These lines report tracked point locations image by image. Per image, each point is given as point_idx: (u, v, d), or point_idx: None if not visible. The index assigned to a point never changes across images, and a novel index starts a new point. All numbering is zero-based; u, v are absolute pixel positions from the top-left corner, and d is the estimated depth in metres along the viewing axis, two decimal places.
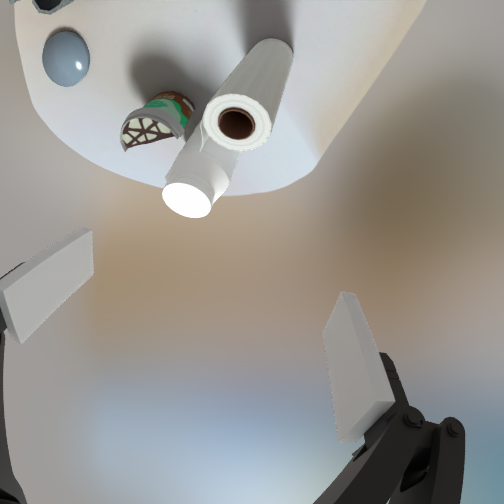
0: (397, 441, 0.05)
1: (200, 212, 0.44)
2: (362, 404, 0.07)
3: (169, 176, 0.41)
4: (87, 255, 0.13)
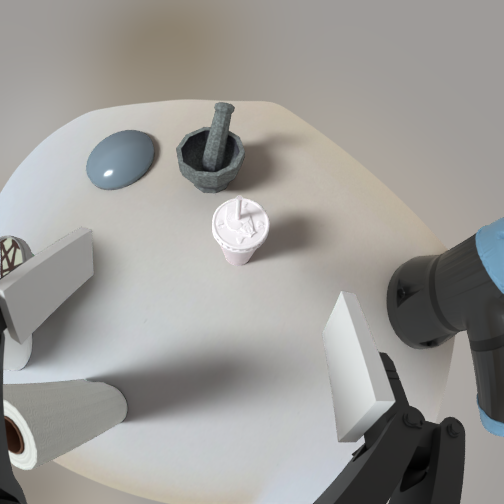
0: (397, 441, 0.05)
1: None
2: (362, 404, 0.07)
3: None
4: (87, 255, 0.13)
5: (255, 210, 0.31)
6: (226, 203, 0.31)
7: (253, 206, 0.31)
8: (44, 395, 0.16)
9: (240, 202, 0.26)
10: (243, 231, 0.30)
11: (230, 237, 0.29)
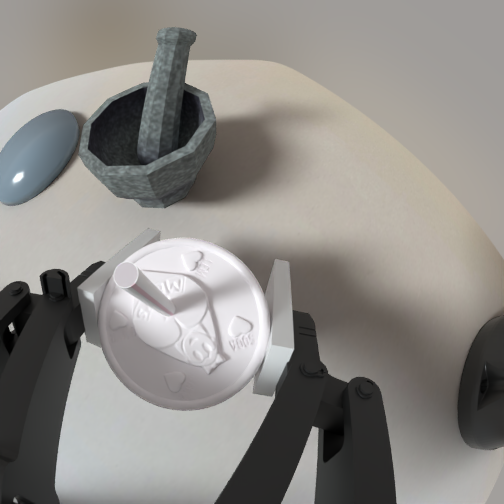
0: (297, 393, 0.07)
1: None
2: (266, 351, 0.09)
3: None
4: None
5: (226, 280, 0.10)
6: (139, 256, 0.10)
7: (220, 266, 0.10)
8: None
9: (134, 292, 0.05)
10: (185, 355, 0.08)
11: (147, 371, 0.08)
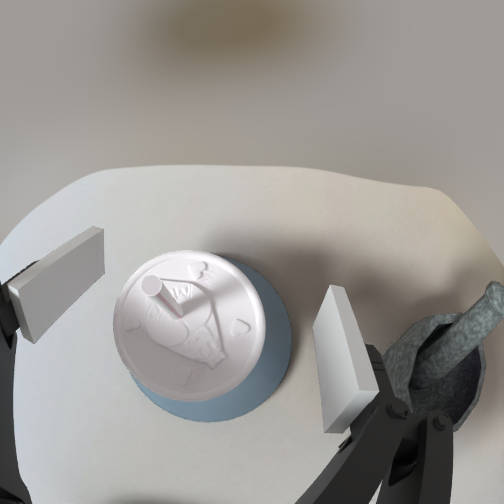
0: (381, 432, 0.06)
1: None
2: (346, 394, 0.08)
3: None
4: (99, 254, 0.13)
5: (227, 287, 0.11)
6: (150, 266, 0.11)
7: (222, 275, 0.11)
8: None
9: (157, 299, 0.07)
10: (191, 353, 0.10)
11: (157, 367, 0.10)
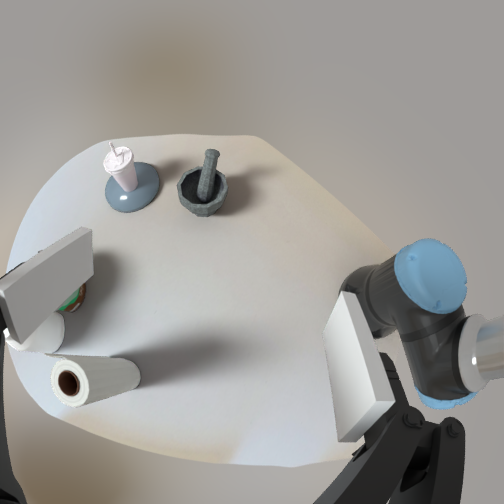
0: (397, 441, 0.05)
1: None
2: (362, 404, 0.07)
3: None
4: (87, 255, 0.13)
5: (126, 152, 0.48)
6: None
7: (126, 150, 0.48)
8: (89, 359, 0.30)
9: (110, 144, 0.43)
10: (117, 162, 0.47)
11: (110, 165, 0.46)
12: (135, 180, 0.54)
